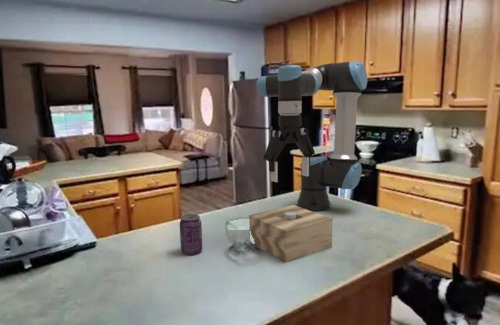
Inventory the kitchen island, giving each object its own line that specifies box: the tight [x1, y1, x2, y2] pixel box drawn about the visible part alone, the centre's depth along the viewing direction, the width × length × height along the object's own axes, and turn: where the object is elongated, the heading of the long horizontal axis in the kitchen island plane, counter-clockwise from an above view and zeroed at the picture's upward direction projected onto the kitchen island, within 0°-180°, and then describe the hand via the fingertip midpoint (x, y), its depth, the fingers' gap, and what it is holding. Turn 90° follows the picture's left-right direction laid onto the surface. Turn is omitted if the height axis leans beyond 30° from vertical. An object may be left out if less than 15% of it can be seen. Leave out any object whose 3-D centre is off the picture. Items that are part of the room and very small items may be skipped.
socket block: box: [248, 204, 334, 263], centre depth 124 cm, size 20×20×10 cm
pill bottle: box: [284, 212, 296, 221], centre depth 123 cm, size 6×5×10 cm
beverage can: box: [179, 213, 203, 256], centre depth 119 cm, size 7×7×12 cm
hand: (290, 178), depth 121 cm, fingers open, 13 cm apart
